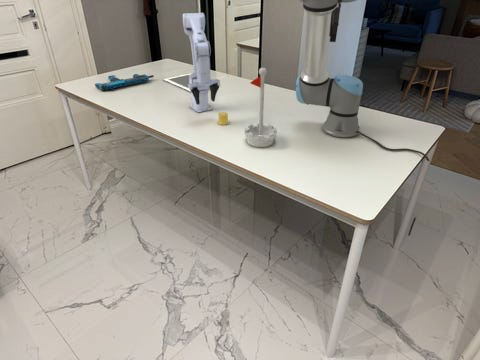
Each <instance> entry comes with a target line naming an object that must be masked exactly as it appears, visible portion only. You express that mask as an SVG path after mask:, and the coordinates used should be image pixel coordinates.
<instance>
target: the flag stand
mask: <svg viewBox="0 0 480 360" xmlns="http://www.w3.org/2000/svg"><path fill="white" fill-rule="evenodd" d="M267 73H268V71H267V69H266V68H265V67H260V68H259V70H258V74H259V76H258V77H256V78H255V79H253V80H252V81H250V82H249V84H250V85H253V86H256V87H257V88H259V115H258V122H256V125H254V124H253V123H250V124H248V125H247V127H245V128H244V137H246V138H247V139H246V141H247V143H248V145H250V146H253V147H255V148H256V147H257V148H267V147H269V146H272V145H273V144H274V142H275V140H274V139H276V138H277V132H278V131H277V130H278V129H277V127H274V124H271V123H268V124H267V125H264V102H265V81H266V80H265V79H266V78H265V77H266V75H267Z"/></svg>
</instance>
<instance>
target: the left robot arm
mask: <svg viewBox="0 0 480 360" xmlns="http://www.w3.org/2000/svg"><path fill="white" fill-rule="evenodd" d="M182 26H183V31H184V34H185V35H187V36H188V38H189V42H190V48H191V49H190V50H191V58H192V65H193V71H192V72H191V73H190V76H189V84H188V88H189V89H190V91H191V92H190V106H189V108H191V109H192V110H193V111H195V112H196V113H202V112H206V111H210V110H213V107H211V106H210V105H209V91H210V100H211V102H215V100H216V96H217V93H218V90H219V89H220V85H221V80H220V79H218V78H213V79H211V61H210V60H211V59H210V57H211V53H212V48H211V44H210V41H209V40H207V36H206V33H205V29H206V28H205V27H206V16H205V13H204V12H192V13H191V12H189V13H188V12H187V13H185V12H184V13H183V14H182ZM193 78H194V79H193ZM218 85H219V86H218Z"/></svg>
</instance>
